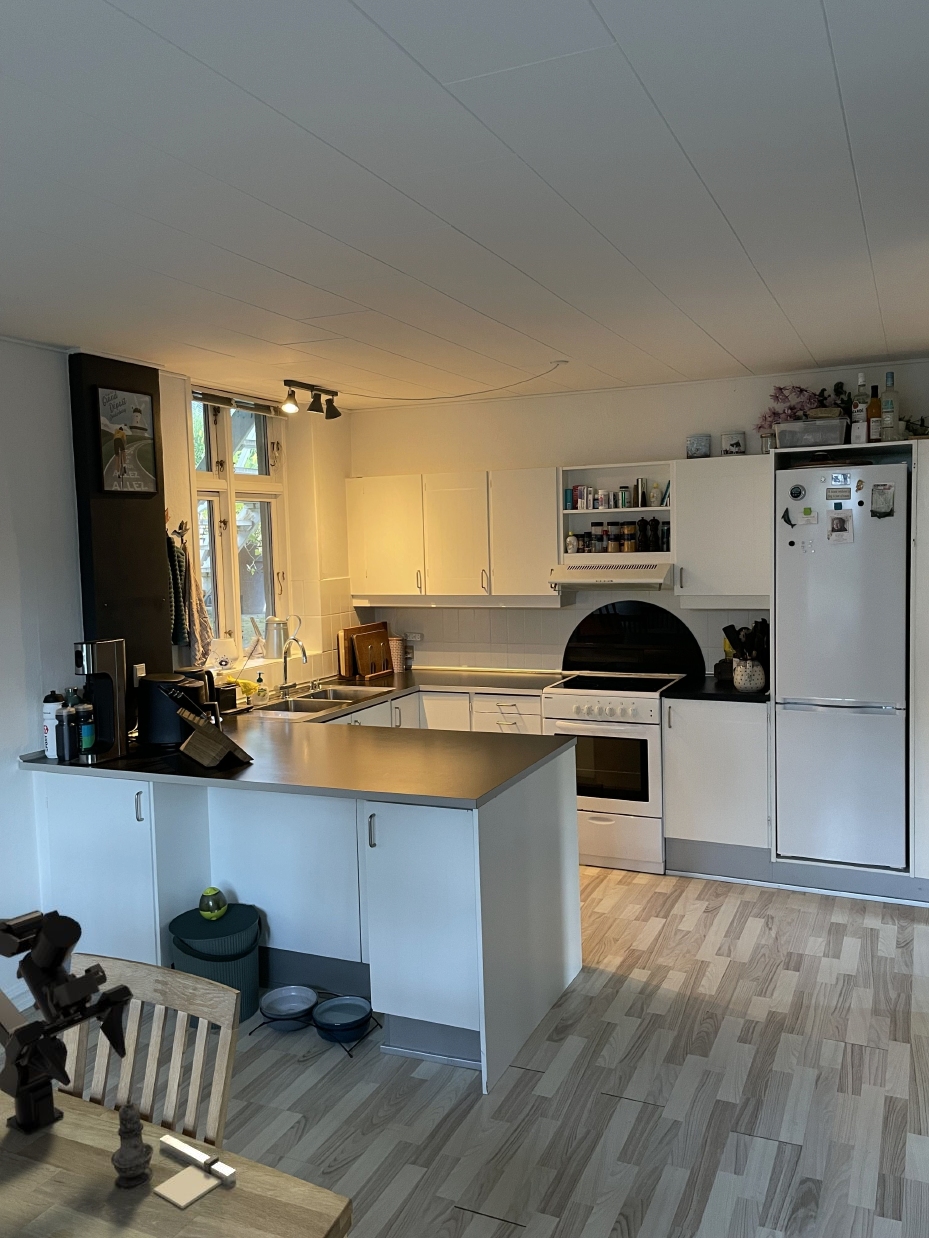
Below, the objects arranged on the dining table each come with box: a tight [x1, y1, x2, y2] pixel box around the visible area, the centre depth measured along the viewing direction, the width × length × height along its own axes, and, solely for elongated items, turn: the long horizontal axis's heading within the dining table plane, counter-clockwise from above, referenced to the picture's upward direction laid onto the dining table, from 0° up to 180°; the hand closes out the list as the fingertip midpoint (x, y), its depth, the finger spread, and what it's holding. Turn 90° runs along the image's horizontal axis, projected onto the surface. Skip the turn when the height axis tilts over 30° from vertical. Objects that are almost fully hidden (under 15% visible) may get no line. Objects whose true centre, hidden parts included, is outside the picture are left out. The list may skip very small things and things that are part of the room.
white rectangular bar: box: [159, 1134, 237, 1186], centre depth 145 cm, size 16×2×2 cm, turn 53°
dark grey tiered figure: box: [110, 1097, 154, 1191], centre depth 142 cm, size 6×6×12 cm
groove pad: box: [153, 1164, 222, 1209], centre depth 139 cm, size 7×7×1 cm
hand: (97, 1070), depth 146 cm, fingers open, 9 cm apart
